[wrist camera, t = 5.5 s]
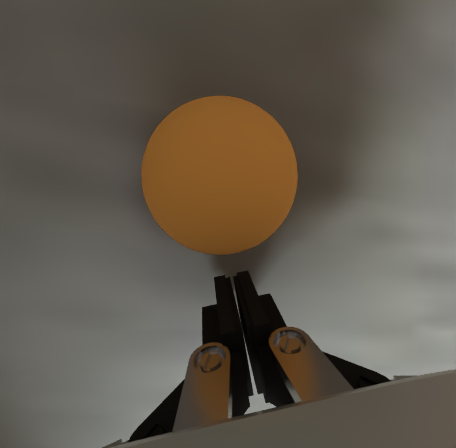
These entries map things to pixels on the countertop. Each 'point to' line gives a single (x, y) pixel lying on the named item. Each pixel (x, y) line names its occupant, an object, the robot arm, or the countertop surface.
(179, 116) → the ball
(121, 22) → the countertop surface
